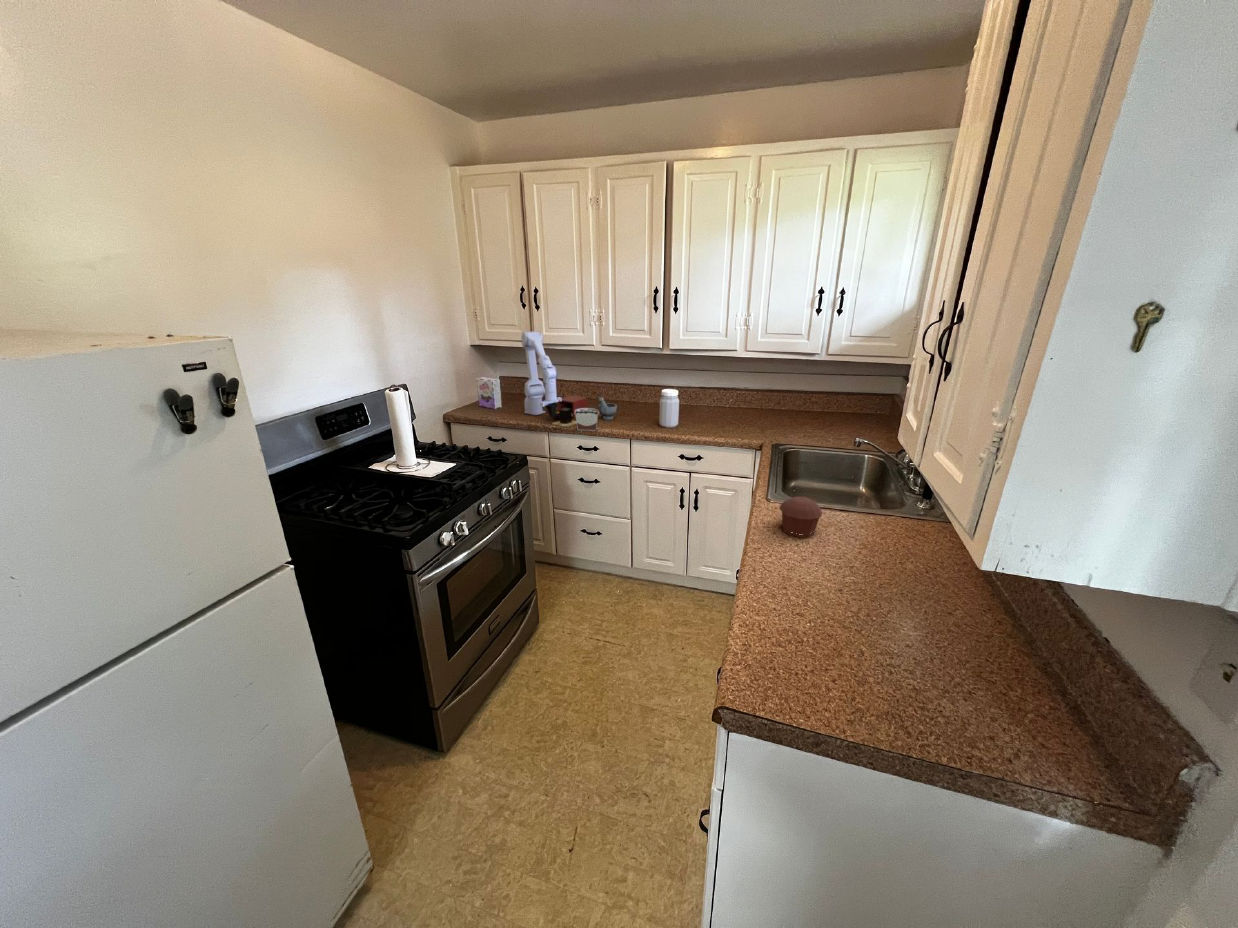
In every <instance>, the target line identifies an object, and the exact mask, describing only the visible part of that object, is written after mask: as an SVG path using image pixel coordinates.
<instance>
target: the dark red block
mask: <svg viewBox="0 0 1238 928" xmlns="http://www.w3.org/2000/svg"><path fill="white" fill-rule="evenodd" d="M561 398H562V401H559V402H557V403H558V406H557V412H559V409H563V408H569V409H571V413H573V416H572V419H576V415H575V414H574V412H575V410H576V409H580V408H588V397H586V396H580V395H572V394H570V395H567V396H564V397H561Z"/></svg>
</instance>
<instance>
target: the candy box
mask: <svg viewBox="0 0 1238 928" xmlns="http://www.w3.org/2000/svg"><path fill="white" fill-rule="evenodd" d="M475 379H476V380H475V381H476V389H477V399H478V406H479V407H483V408H487V409H493V410H497V409H501V408H503V405H502V394H501V393H502V391H501V380H500V379H498V378H491V377H487V376H486V377H485V376H481V377H476V378H475Z"/></svg>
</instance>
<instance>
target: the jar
mask: <svg viewBox="0 0 1238 928" xmlns="http://www.w3.org/2000/svg"><path fill="white" fill-rule="evenodd" d="M678 395H679V390H678V389H674V388H664V389H662V390H661V397H660V399H659V420H658V421H659V422H658V424H659V425H660V427H662V428H666V429H671V428H676V427H677V426H678V425H679V414H680V412H679V411H680V399H679V396H678Z"/></svg>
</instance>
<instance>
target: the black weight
mask: <svg viewBox="0 0 1238 928" xmlns="http://www.w3.org/2000/svg"><path fill="white" fill-rule="evenodd" d="M559 414H560V419H559V421H560V423H564V424H568V423H571V422H572V420H573V418H572V413H571V409H569V408H563V409H559Z"/></svg>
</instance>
